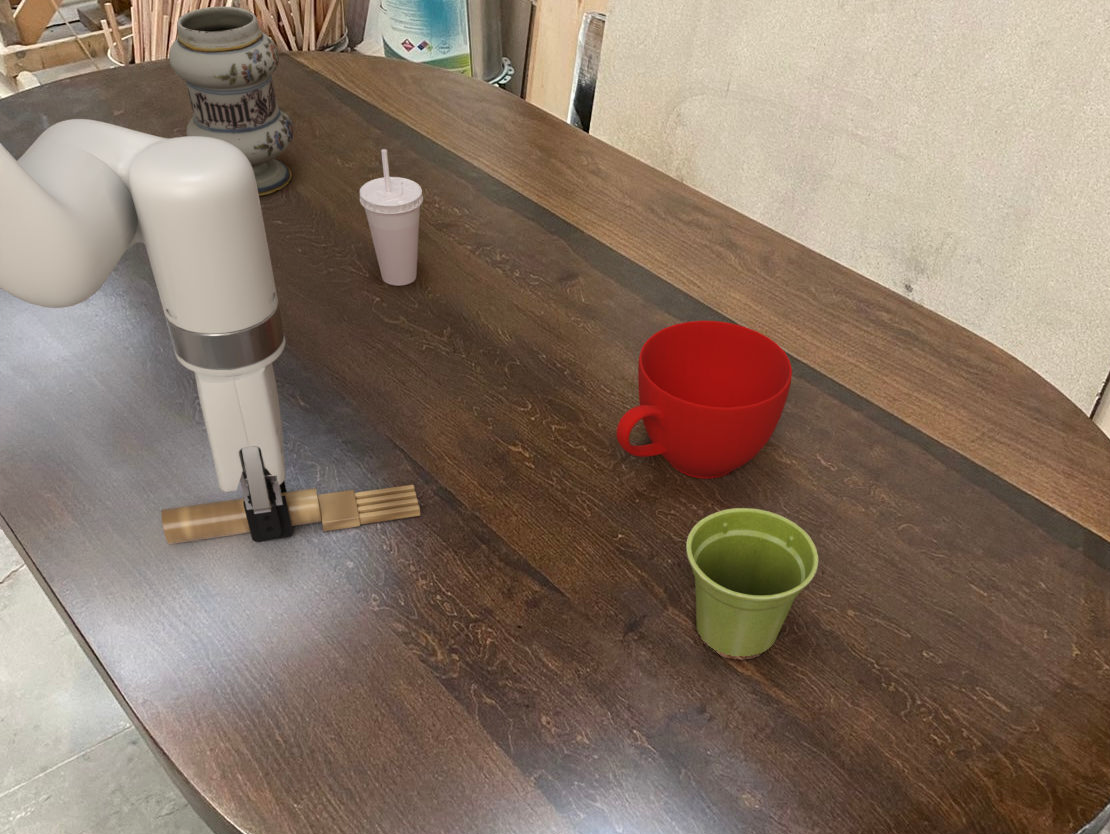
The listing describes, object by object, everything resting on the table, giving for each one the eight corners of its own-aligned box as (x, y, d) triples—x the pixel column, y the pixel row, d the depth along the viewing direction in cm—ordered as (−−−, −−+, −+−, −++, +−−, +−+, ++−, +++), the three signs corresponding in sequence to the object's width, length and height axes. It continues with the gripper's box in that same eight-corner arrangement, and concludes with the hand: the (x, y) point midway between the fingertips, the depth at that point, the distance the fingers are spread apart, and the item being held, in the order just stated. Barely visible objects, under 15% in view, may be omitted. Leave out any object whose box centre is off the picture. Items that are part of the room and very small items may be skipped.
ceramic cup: (567, 462, 95) (570, 368, 88) (704, 395, 103) (717, 304, 96) (665, 542, 89) (677, 448, 82) (803, 464, 97) (825, 371, 89)
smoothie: (358, 285, 114) (342, 155, 104) (384, 257, 118) (371, 129, 108) (414, 297, 113) (402, 167, 103) (438, 268, 117) (429, 140, 107)
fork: (170, 554, 85) (161, 529, 83) (169, 524, 87) (160, 499, 85) (421, 517, 89) (418, 491, 87) (413, 489, 92) (411, 464, 90)
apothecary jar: (214, 153, 133) (179, -5, 120) (310, 159, 133) (286, 2, 120) (184, 199, 125) (144, 34, 112) (287, 205, 125) (259, 41, 112)
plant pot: (668, 588, 85) (679, 507, 79) (784, 586, 86) (804, 506, 80) (682, 680, 79) (695, 599, 72) (807, 677, 80) (831, 597, 73)
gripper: (168, 273, 79) (219, 466, 92) (172, 403, 68) (229, 600, 82) (272, 263, 80) (308, 454, 94) (292, 389, 70) (329, 584, 83)
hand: (271, 521), depth 88 cm, fingers closed on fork, 2 cm apart
